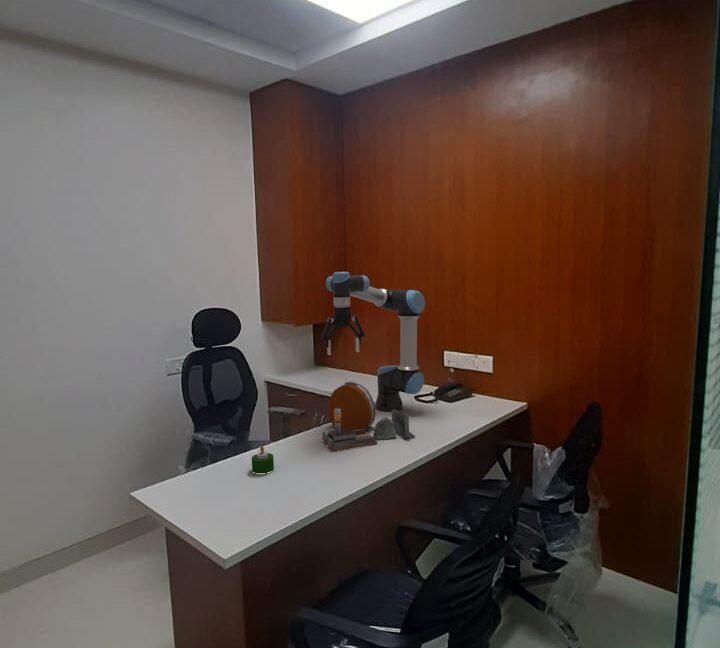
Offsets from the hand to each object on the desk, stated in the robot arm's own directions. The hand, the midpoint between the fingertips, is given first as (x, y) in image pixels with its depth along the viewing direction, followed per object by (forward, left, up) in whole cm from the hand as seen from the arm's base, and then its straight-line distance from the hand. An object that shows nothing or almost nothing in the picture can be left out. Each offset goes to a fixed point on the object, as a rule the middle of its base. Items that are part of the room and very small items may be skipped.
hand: (343, 353), depth 220 cm
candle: (+23, -42, -39) cm, 62 cm away
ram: (+9, -5, -37) cm, 39 cm away
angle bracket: (+9, +25, -39) cm, 47 cm away
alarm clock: (-10, +7, -39) cm, 41 cm away
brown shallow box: (+9, -1, -39) cm, 40 cm away
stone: (+9, +16, -39) cm, 43 cm away
